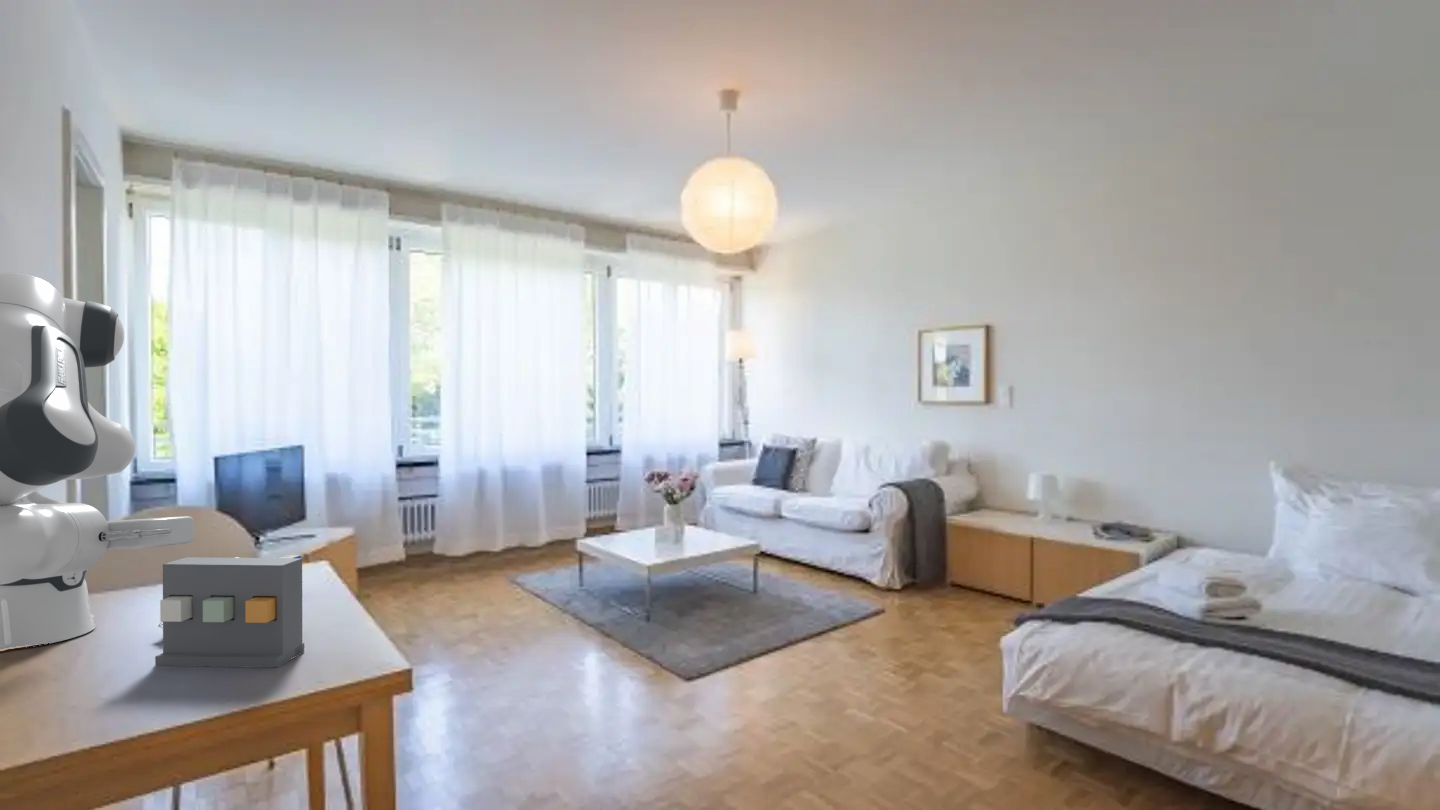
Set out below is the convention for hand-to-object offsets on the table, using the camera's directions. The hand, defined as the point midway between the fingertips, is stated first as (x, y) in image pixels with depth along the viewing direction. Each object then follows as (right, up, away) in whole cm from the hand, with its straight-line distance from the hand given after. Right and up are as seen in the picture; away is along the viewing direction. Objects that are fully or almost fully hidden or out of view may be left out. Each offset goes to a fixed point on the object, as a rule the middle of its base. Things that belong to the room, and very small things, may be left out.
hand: (147, 531), depth 100 cm
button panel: (+1, -24, +16) cm, 29 cm away
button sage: (+1, -17, +13) cm, 21 cm away
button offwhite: (-6, -17, +13) cm, 22 cm away
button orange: (+8, -17, +13) cm, 22 cm away
